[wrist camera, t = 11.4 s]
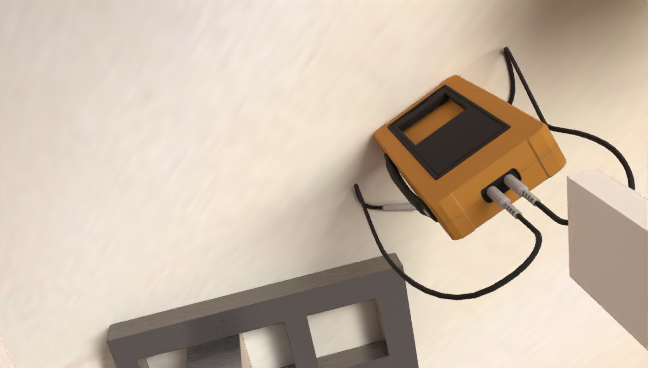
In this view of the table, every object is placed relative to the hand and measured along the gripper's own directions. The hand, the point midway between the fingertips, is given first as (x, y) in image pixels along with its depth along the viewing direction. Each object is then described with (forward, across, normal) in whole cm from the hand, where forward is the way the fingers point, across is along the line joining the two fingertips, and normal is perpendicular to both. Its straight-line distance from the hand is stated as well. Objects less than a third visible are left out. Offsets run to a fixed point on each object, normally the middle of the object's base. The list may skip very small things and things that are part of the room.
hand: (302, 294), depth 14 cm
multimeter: (+29, +13, -10) cm, 33 cm away
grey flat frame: (+29, -3, -22) cm, 36 cm away
